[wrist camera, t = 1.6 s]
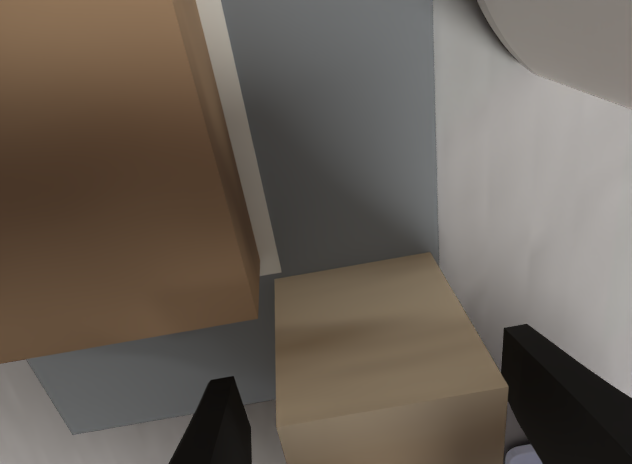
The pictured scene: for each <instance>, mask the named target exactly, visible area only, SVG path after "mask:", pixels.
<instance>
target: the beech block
mask: <svg viewBox="0 0 632 464" xmlns="http://www.w3.org/2000/svg"><path fill="white" fill-rule="evenodd" d="M274 286H275V365H276V428H277V432H278V435H279V438H280V442H281V445H282V449H283V452H284V456H285V459H286V463H287V464H503V457H504V443H505V429H506V416H507V402H508V389H509V386H508V385H507V383H506V381H505V380H504V378H503V376H502V374H501V373H500V371H499V369H498V368H497V366H496V364H495V362H494V361H493V359H492V357H491V356H490V354H489V352H488V350H487V349H486V347H485V345H484V344H483V342H482V340H481V338H480V337H479V335H478V333H477V332H476V330H475V328H474V326H473V325H472V323H471V321H470V320H469V318H468V316H467V314H466V313H465V311H464V309H463V308H462V306H461V304H460V302H459V301H458V299H457V297H456V296H455V294H454V292H453V290H452V289H451V287H450V285H449V284H448V282H447V280H446V278H445V277H444V275H443V273H442V272H441V270H440V268H439V266H438V265H437V263H436V261H435V260H434V258H433V256H432V254H431V253H430V252H427V253H422V254H416V255H410V256H404V257H399V258H393V259H387V260H381V261H376V262H370V263H364V264H358V265H353V266H347V267H341V268H335V269H330V270H324V271H318V272H313V273H307V274H301V275H295V276H290V277H284V278H278V279H274Z"/></svg>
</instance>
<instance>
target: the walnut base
mask: <svg viewBox="0 0 632 464" xmlns="http://www.w3.org/2000/svg"><path fill="white" fill-rule="evenodd" d="M259 281H260V258H259V254H258V250H257V246H256V241H255V237H254V233H253V229H252V225H251V221H250V217H249V213H248V209H247V205H246V201H245V197H244V193H243V189H242V185H241V181H240V177H239V173H238V169H237V165H236V161H235V157H234V153H233V149H232V145H231V141H230V137H229V133H228V129H227V125H226V121H225V117H224V113H223V108H222V104H221V100H220V96H219V92H218V88H217V84H216V80H215V76H214V72H213V68H212V64H211V60H210V56H209V52H208V48H207V44H206V40H205V36H204V32H203V28H202V24H201V20H200V16H199V12H198V8H197V4H196V0H0V364H1V363H7V362H13V361H19V360H24V359H30V358H36V357H41V356H47V355H53V354H59V353H64V352H70V351H76V350H82V349H87V348H93V347H99V346H105V345H110V344H116V343H122V342H127V341H133V340H139V339H145V338H150V337H156V336H162V335H168V334H173V333H179V332H185V331H191V330H196V329H202V328H208V327H213V326H219V325H225V324H231V323H236V322H242V321H248V320H254V319H258V308H259Z"/></svg>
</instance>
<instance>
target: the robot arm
mask: <svg viewBox="0 0 632 464" xmlns="http://www.w3.org/2000/svg"><path fill="white" fill-rule="evenodd" d="M501 374H502V376H503V378H504V380H505V381H506V383H507V385H508V386H509V389H508V402H509V404H510V406H511V408H512V410H513V413H514V415H515V417H516V419H517V421H518V423H519V424H520V426H521V428H522V430H523V431H524V433H525V435H526V436H527V438H528V440H529V442H530V443H531V444H528V445H522V446H517V447H514V448H512V449H510V450H509V451H508V452H507V454H506V457H505V464H632V398H630V397H629V396H627V395H626V394H624V393H623V392H621V391H619V390H618V389H616V388H615V387H613V386H612V385H610V384H609V383H608V382H606V381H605V380H603V379H602V378H600V377H599V376H598V375H596V374H595V373H593V372H592V371H590V370H589V369H587V368H586V367H585V366H583V365H582V364H580V363H579V362H578V361H576V360H575V359H574V358H572V357H571V356H569V355H568V354H567V353H565V352H564V351H563V350H561V349H560V348H559V347H557V346H556V345H555V344H553V343H552V342H551V341H549V340H548V339H547V338H545V337H544V336H543V335H541V334H540V333H539V332H537V331H536V330H534V329H533V328H532V327H530V326H529V325H528V324H524V325H518V326H512V327H507V328H504V336H503V352H502V367H501ZM169 464H252V456H251V427H250V424H249V421H248V418H247V415H246V412H245V409H244V406H243V403H242V400H241V397H240V393H239V390H238V387H237V384H236V381H235V378H234V376H230V377H224V378H219V379H213V380H210V382H209V383H208V384H207V387H206V389H205V391H204V393H203V396H202V398H201V400H200V402H199V405H198V407H197V409H196V411H195V413H194V415H193V417H192V419H191V421H190V423H189V426H188V428H187V430H186V432H185V433H184V435H183V437H182V439H181V441H180V443H179V445H178V447H177V449H176V451H175V453H174V455H173V456H172V458H171V460H170V462H169Z"/></svg>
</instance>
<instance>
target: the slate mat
mask: <svg viewBox="0 0 632 464" xmlns="http://www.w3.org/2000/svg"><path fill="white" fill-rule="evenodd" d="M196 4H197V8H198V12H199V16H200V20H201V24H202V28H203V32H204V36H205V40H206V44H207V48H208V52H209V56H210V60H211V64H212V68H213V72H214V76H215V80H216V84H217V88H218V92H219V96H220V100H221V104H222V108H223V113H224V117H225V121H226V125H227V129H228V133H229V137H230V141H231V145H232V149H233V153H234V157H235V161H236V165H237V169H238V173H239V177H240V181H241V185H242V189H243V193H244V197H245V201H246V205H247V209H248V213H249V217H250V221H251V225H252V229H253V233H254V237H255V241H256V246H257V250H258V254H259V258H260V281H259V308H258V319H254V320H248V321H242V322H236V323H231V324H225V325H219V326H213V327H208V328H202V329H196V330H191V331H185V332H179V333H173V334H168V335H162V336H156V337H150V338H145V339H139V340H133V341H127V342H122V343H116V344H110V345H105V346H99V347H93V348H87V349H82V350H76V351H70V352H64V353H59V354H53V355H47V356H41V357H36V358H30V359H26V360H27V362H28V363H29V365H30V366H31V368H32V370H33V371H34V373H35V375H36V376H37V378H38V379H39V381H40V383H41V384H42V386H43V388H44V389H45V391H46V392H47V394H48V396H49V397H50V399H51V401H52V402H53V404H54V405H55V407H56V409H57V410H58V412H59V414H60V415H61V417H62V418H63V420H64V422H65V423H66V425H67V427H68V428H69V430H70V431H71V433H72V435H75V434H81V433H86V432H92V431H98V430H104V429H109V428H115V427H121V426H126V425H132V424H138V423H144V422H149V421H155V420H161V419H167V418H172V417H178V416H184V415H189V414H194V413H195V411H196V409H197V407H198V405H199V402H200V400H201V398H202V396H203V393H204V391H205V389H206V387H207V384H208V383H209V382H210V380H213V379H219V378H224V377H230V376H234V378H235V381H236V384H237V387H238V390H239V393H240V397H241V400H242V403H243V405H247V404H252V403H258V402H264V401H269V400H275V399H276V365H275V286H274V279H278V278H284V277H290V276H295V275H301V274H307V273H313V272H318V271H324V270H330V269H335V268H341V267H347V266H353V265H358V264H364V263H370V262H376V261H381V260H387V259H393V258H399V257H404V256H410V255H416V254H422V253H427V252H430V253H431V254H432V256H433V258H434V260H435V261H436V263H437V265H438V266H439V240H438V200H437V160H436V120H435V80H434V40H433V0H196Z"/></svg>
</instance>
